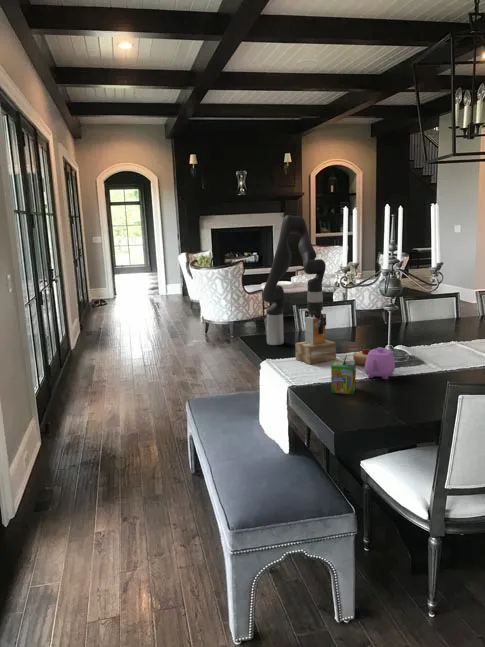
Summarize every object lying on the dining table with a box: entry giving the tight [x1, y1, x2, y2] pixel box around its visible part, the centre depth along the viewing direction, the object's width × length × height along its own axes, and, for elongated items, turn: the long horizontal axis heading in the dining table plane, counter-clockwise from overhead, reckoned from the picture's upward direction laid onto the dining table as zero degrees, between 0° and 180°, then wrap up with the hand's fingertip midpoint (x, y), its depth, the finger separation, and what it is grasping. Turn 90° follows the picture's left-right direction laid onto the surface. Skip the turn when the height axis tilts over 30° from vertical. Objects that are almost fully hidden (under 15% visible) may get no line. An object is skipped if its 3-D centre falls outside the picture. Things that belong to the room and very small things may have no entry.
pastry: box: [352, 345, 371, 367], centre depth 252 cm, size 12×12×9 cm
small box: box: [304, 316, 326, 345], centre depth 261 cm, size 8×6×13 cm
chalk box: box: [330, 354, 357, 395], centre depth 214 cm, size 9×9×15 cm
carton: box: [294, 343, 337, 365], centre depth 263 cm, size 12×16×8 cm
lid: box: [295, 339, 336, 348], centre depth 262 cm, size 12×16×1 cm
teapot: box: [364, 346, 396, 380], centre depth 232 cm, size 20×12×13 cm, turn 153°
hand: (315, 332), depth 261 cm, fingers open, 8 cm apart
